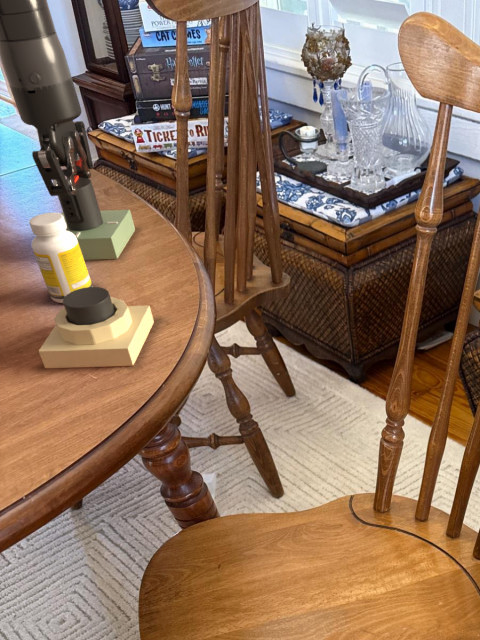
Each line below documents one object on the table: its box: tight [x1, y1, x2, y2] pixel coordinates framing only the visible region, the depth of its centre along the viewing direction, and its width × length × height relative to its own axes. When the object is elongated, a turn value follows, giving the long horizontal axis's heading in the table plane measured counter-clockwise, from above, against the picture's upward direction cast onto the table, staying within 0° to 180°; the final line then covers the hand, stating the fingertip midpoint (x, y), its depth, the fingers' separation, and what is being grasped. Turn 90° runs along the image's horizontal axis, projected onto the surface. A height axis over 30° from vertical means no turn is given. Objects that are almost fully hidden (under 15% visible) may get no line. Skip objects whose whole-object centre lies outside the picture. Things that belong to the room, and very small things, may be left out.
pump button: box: [62, 286, 115, 325], centre depth 88 cm, size 5×5×2 cm
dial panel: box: [60, 209, 136, 261], centre depth 111 cm, size 10×10×3 cm
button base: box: [38, 296, 155, 369], centre depth 90 cm, size 10×10×4 cm
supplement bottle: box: [28, 212, 94, 304], centre depth 97 cm, size 5×5×10 cm
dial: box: [57, 175, 103, 231], centre depth 108 cm, size 5×5×6 cm
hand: (83, 214), depth 109 cm, fingers closed on dial, 5 cm apart
